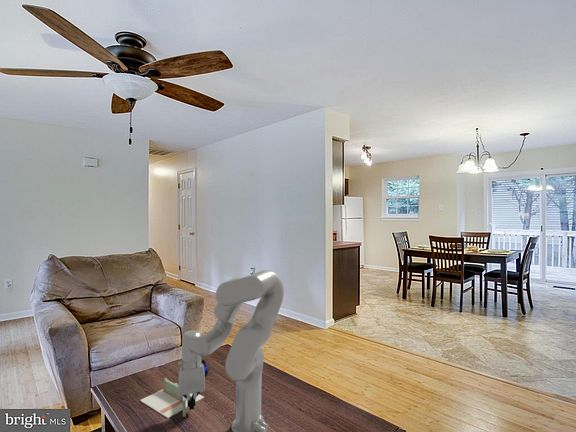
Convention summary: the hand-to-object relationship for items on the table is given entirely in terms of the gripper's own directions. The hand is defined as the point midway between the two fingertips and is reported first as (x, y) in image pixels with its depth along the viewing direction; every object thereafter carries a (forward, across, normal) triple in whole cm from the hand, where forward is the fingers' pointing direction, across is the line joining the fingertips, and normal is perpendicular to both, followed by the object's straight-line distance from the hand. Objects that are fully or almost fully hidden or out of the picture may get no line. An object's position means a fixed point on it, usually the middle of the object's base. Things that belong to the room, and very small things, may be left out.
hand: (191, 407), depth 132 cm
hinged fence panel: (+1, -2, +4) cm, 5 cm away
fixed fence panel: (+2, -6, +16) cm, 17 cm away
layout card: (+2, -6, +13) cm, 15 cm away
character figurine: (+2, +7, +27) cm, 28 cm away
